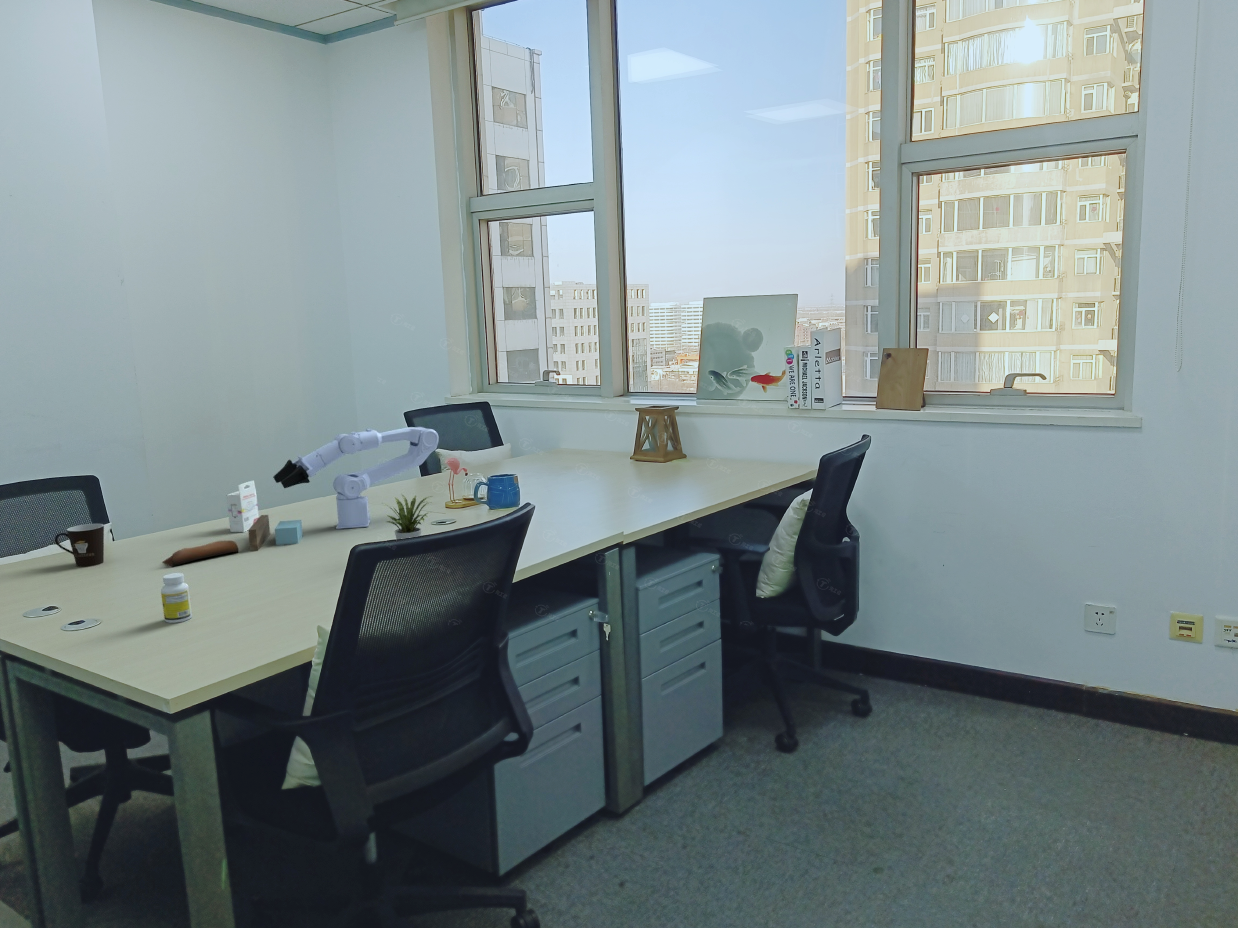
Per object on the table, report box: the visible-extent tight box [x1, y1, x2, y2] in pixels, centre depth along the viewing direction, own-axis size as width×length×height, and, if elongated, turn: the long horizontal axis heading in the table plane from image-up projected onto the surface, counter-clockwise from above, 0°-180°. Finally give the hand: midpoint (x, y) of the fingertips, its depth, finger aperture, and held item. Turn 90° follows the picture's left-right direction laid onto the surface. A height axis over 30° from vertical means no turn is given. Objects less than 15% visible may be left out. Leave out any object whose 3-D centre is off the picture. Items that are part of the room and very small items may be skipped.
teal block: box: [274, 519, 303, 546], centre depth 267 cm, size 6×10×5 cm, turn 12°
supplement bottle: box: [160, 572, 193, 624], centre depth 198 cm, size 5×5×10 cm
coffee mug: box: [54, 523, 105, 568], centre depth 247 cm, size 12×9×10 cm
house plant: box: [382, 493, 433, 540], centre depth 248 cm, size 14×14×16 cm
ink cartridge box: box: [225, 480, 260, 533], centre depth 283 cm, size 9×5×15 cm, turn 168°
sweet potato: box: [162, 540, 239, 568], centre depth 250 cm, size 18×7×7 cm
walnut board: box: [247, 514, 271, 552], centre depth 266 cm, size 2×20×6 cm, turn 11°
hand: (278, 482), depth 271 cm, fingers open, 7 cm apart
